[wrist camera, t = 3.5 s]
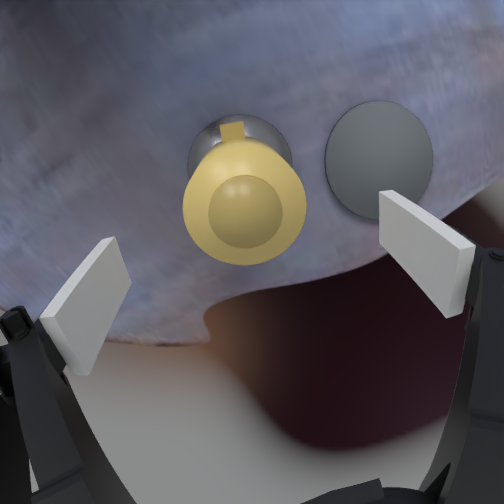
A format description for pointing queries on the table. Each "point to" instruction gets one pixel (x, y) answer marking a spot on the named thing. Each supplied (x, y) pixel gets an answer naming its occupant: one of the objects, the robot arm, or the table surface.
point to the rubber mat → (377, 156)
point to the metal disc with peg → (252, 129)
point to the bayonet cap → (243, 200)
